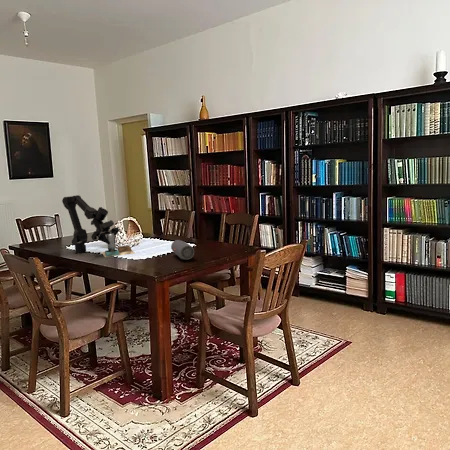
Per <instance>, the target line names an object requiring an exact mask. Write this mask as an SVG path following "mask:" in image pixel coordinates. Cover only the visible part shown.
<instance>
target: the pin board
mask: <svg viewBox="0 0 450 450" xmlns="http://www.w3.org/2000/svg"><path fill="white" fill-rule="evenodd" d="M101 253H102V255H103V257H104V258H108V257H109V258H110V257H117V256H125V255H133V254H136V252H135V251H134V250H133V249H132V247H131V245H126V246H123V245H122V246H117V248H115V251H114V252H108V249H107V250H105V251H101Z"/></svg>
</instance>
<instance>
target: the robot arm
mask: <svg viewBox="0 0 450 450" xmlns="http://www.w3.org/2000/svg"><path fill="white" fill-rule="evenodd" d="M61 202H62V204H63V207H64V208H65V209H66V210H67V211H68V214H69V217H70V221H71V223H72V227H73V229H74V230H73V234H72V235H73V238H72V240H71V243H72V245H74V250H75V251H74V252H75V254H83V253H84V254H85V253H86V252H87V246H86V243H88V238H89V237H88V236H89V235H88V233H87V230H86V229H85V228H82V225H81V222H80V218H79V214H78V212H77V208H76V207H77V206H78V208H80V209H81V210H82V211H83V213H84V216H85V217H86V219H87V220H91V221H90V225H91V226H94V227H95V231H93V232H92V234H91V236H90V237H91V240H92V241H95V240H98V241H101V242H103V243H106V244H107V245H108V244H110V242H109V241H108V239H107V234H109V233H114V241H115V244H116V243H117V240H116V236H117V235H118V233H119V232H120V229H119V227H117V226H116V227H113V226H114V225H115V223H114V222H115V221H113V220H108V221H104V220H105V219H106V217H107V216H108V214H109V211H108V210H107V209H105V208H104V207H101V206H100V207H98V209H96V208H94V207H92V206H90V205H89V204H88V203H87V202H86V201H85V200H84V199H83V198H82V197H81V195H80V194H77V195H71V196H64V197H63V198H62V200H61Z"/></svg>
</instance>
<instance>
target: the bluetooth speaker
mask: <svg viewBox="0 0 450 450" xmlns="http://www.w3.org/2000/svg"><path fill="white" fill-rule="evenodd" d="M170 247H171V248H170V249H171V250H172V252H173V253H174V254H175V255H176V256H177V257H179V259H180V260H182V261H184V260H185V261H187V260H190V259H192V258H193V257H194V255H195V249H194V248H193V246H191V244H189V243H187V242H185V241H183V240H181V239H176V240H174V241H173V242H172V243H171V246H170Z"/></svg>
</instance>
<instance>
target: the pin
mask: <svg viewBox="0 0 450 450" xmlns="http://www.w3.org/2000/svg"><path fill="white" fill-rule="evenodd" d="M106 238H107V239H108V241H109V242H110V244H107V250H108V252H114V251H115V249H116V243H115V241H114V233H109V234H107V235H106Z"/></svg>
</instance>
